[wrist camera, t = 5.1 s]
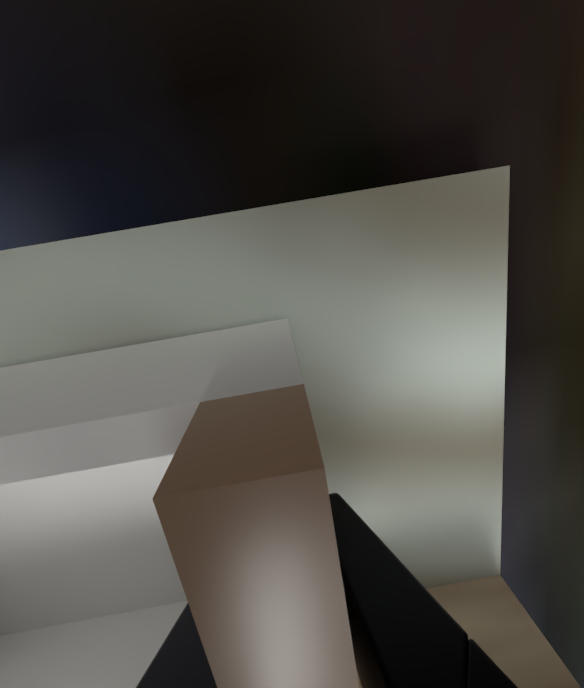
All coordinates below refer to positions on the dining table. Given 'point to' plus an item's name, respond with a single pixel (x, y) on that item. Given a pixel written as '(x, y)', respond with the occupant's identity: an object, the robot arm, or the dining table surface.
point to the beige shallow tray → (339, 357)
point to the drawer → (168, 516)
